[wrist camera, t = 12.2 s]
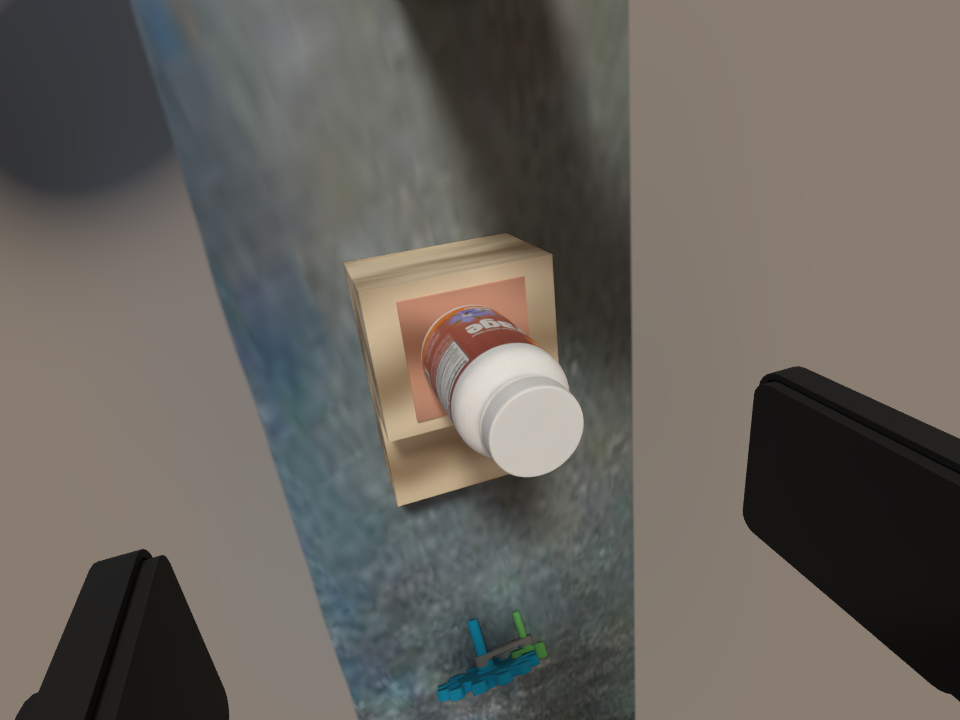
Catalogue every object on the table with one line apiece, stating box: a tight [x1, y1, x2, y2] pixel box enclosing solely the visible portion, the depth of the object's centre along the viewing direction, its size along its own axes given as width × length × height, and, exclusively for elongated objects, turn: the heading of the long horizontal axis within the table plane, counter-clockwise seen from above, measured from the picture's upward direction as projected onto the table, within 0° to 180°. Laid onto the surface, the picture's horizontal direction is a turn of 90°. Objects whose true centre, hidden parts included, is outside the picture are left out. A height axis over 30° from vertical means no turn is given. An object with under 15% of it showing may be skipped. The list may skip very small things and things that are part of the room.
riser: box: [344, 233, 559, 507], centre depth 41 cm, size 18×12×8 cm, turn 7°
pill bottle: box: [421, 305, 584, 477], centre depth 31 cm, size 6×6×11 cm
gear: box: [436, 611, 548, 702], centre depth 54 cm, size 11×6×10 cm
